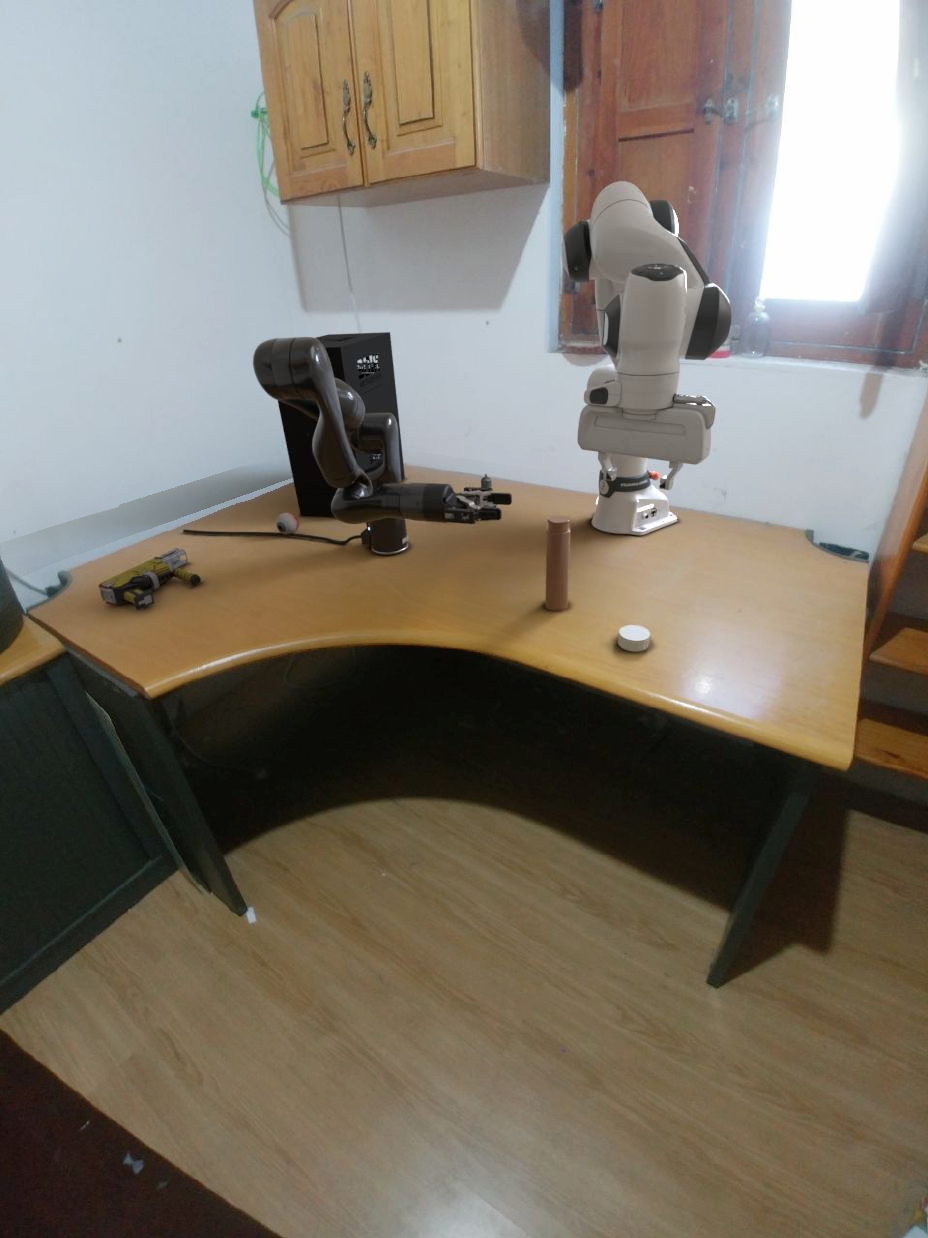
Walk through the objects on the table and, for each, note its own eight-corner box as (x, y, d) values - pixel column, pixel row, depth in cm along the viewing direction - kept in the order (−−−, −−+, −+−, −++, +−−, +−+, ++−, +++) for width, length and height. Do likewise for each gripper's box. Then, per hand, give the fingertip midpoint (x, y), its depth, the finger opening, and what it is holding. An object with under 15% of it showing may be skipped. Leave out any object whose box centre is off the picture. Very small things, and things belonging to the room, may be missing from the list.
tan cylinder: (565, 599, 125) (569, 514, 116) (569, 610, 121) (572, 522, 112) (544, 600, 125) (545, 515, 116) (546, 611, 121) (548, 523, 112)
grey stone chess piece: (496, 519, 166) (494, 477, 160) (475, 519, 167) (473, 476, 161) (499, 512, 171) (498, 470, 165) (478, 511, 172) (477, 470, 166)
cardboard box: (364, 517, 173) (340, 346, 151) (300, 515, 178) (267, 349, 155) (404, 478, 205) (390, 332, 182) (349, 476, 209) (328, 334, 187)
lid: (612, 645, 109) (613, 634, 108) (626, 632, 113) (627, 621, 112) (640, 655, 106) (642, 644, 105) (654, 641, 110) (655, 630, 109)
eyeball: (273, 537, 164) (268, 516, 161) (287, 528, 169) (282, 508, 166) (291, 539, 161) (286, 518, 158) (305, 530, 166) (301, 510, 163)
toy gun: (224, 556, 146) (173, 545, 150) (148, 597, 126) (92, 584, 130) (226, 573, 148) (177, 563, 152) (152, 617, 128) (97, 603, 132)
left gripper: (412, 495, 112) (497, 499, 108) (437, 473, 124) (514, 476, 119) (416, 533, 116) (498, 538, 111) (439, 508, 128) (514, 512, 123)
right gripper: (725, 393, 85) (710, 488, 92) (594, 384, 96) (589, 470, 103) (709, 401, 81) (695, 500, 88) (574, 391, 92) (570, 479, 99)
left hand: (506, 506), depth 115 cm, fingers open, 8 cm apart
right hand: (636, 483), depth 95 cm, fingers open, 8 cm apart
